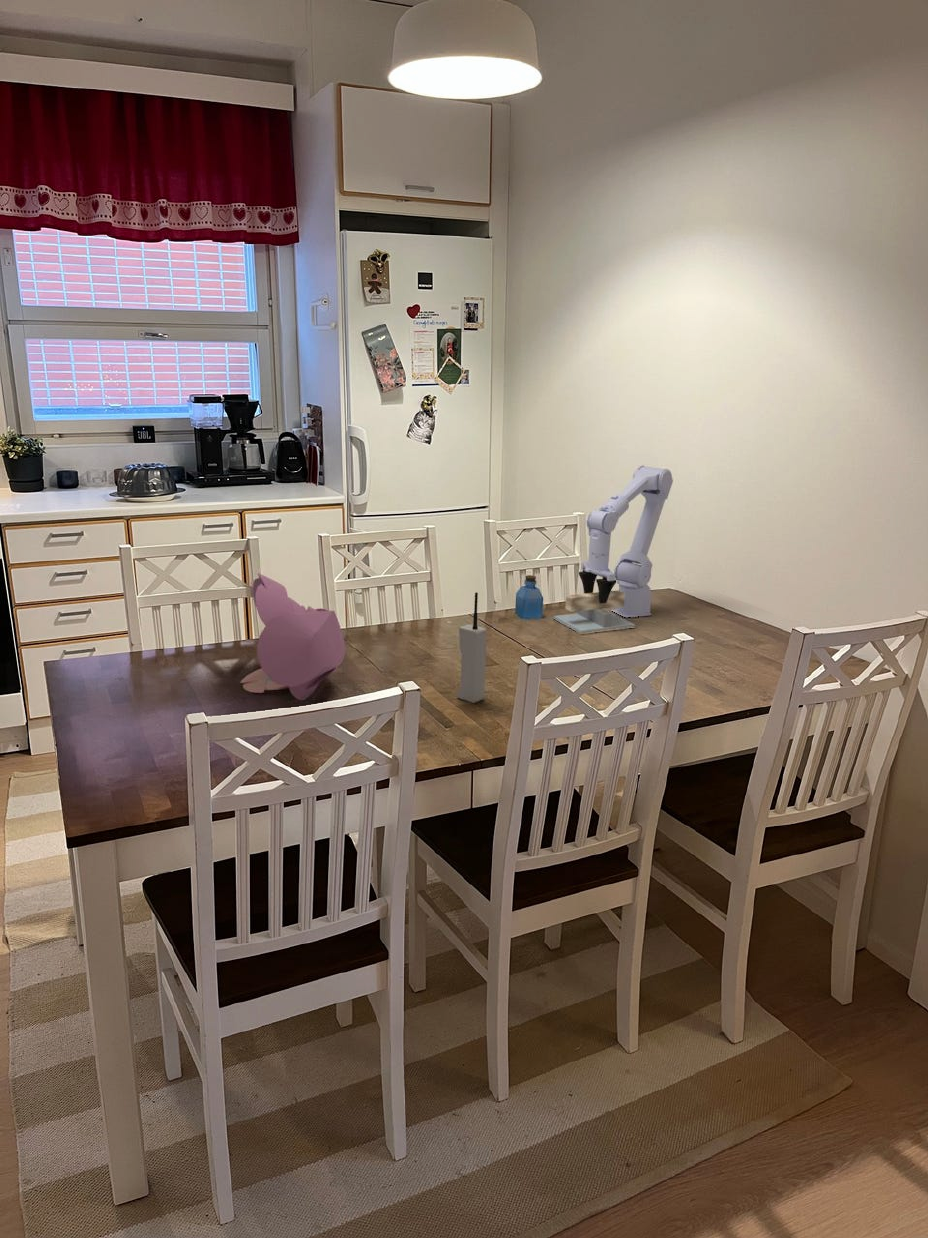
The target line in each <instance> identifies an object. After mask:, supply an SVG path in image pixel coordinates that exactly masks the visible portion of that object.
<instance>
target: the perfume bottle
mask: <svg viewBox="0 0 928 1238" xmlns="http://www.w3.org/2000/svg"><path fill="white" fill-rule="evenodd" d="M536 578H537V576H536V575H533V574H531V575H525V579H524V584H523V586H522V585H521V586H520V587H519V589H518V590H517V592H515V609H514V610H515V611H514V614H515V615H516V614H517V615H518V616H517V615H516V616H517V617H519V618H520V619H521V620H522V619H525V620H537V619H536V618H541V619H543V611H544V596H543V595H542V592H541V590H540V589H539V588H538V587H537V586H536V585H537V580H536ZM524 585H525V586H524Z"/></svg>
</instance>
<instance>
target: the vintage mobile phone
mask: <svg viewBox="0 0 928 1238" xmlns="http://www.w3.org/2000/svg"><path fill="white" fill-rule="evenodd" d="M478 597H479V596H478V592H474V606H473V607H474V611H473V619H472V621H473V622H472V623H473V624H470V623H468V624H466V625H463V626H460V627H459V628H458V631H459V632H458V633H459V634H458V635H459V638H458V639H459V650H460V654H461V660H460V661H461V662H460V686H459V688H458V690H457V692H456V697H457V699H460V700H463V701H466V702H469V703H472V704H475V703H477V702H479V701H482V700H484V698H485V686H486V685H485V684H486V664H487V663H486V661H487V658H486V657H487V641H488V640H487V637H488V636H487V635H488V631H487V628H484V627H481V626H478Z"/></svg>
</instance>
